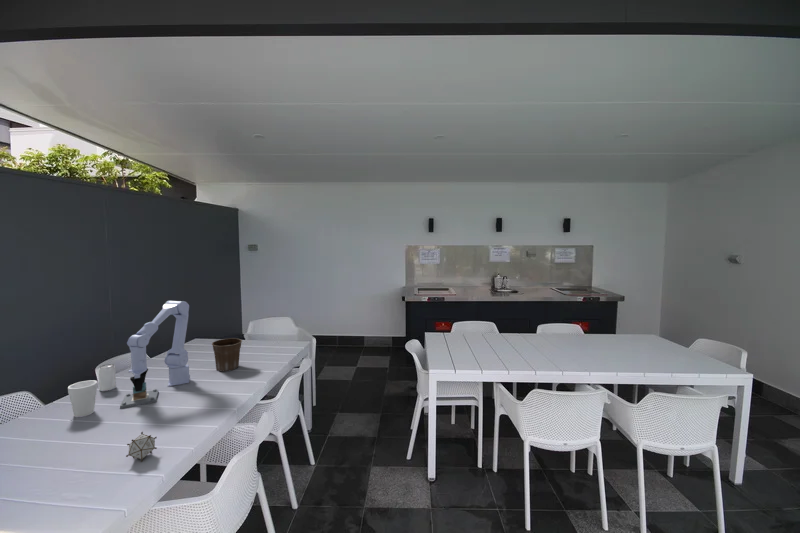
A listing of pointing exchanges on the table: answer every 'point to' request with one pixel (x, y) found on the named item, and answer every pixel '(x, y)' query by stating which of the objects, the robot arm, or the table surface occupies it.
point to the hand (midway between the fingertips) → (140, 388)
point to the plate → (149, 398)
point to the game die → (141, 446)
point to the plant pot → (227, 353)
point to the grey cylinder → (107, 377)
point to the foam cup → (83, 397)
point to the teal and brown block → (139, 392)
